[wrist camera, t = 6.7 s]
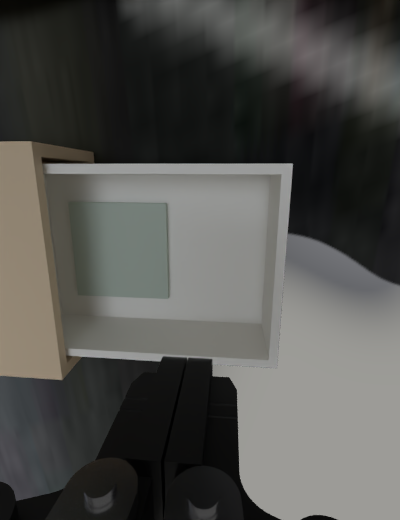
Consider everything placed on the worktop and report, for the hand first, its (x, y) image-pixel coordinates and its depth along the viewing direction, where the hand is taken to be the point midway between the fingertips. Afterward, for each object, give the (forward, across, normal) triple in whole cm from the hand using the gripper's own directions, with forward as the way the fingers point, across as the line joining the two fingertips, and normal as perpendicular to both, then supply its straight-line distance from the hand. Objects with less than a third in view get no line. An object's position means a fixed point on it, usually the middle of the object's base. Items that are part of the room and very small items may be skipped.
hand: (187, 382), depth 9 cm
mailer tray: (+17, +5, 0) cm, 18 cm away
